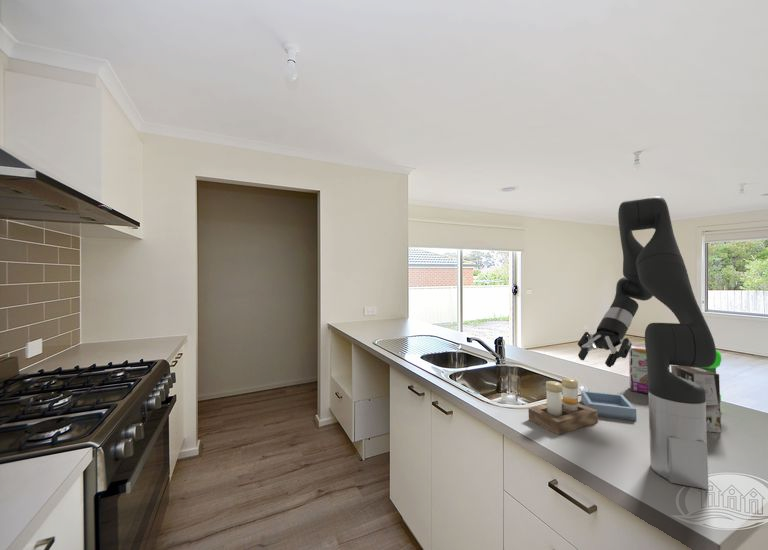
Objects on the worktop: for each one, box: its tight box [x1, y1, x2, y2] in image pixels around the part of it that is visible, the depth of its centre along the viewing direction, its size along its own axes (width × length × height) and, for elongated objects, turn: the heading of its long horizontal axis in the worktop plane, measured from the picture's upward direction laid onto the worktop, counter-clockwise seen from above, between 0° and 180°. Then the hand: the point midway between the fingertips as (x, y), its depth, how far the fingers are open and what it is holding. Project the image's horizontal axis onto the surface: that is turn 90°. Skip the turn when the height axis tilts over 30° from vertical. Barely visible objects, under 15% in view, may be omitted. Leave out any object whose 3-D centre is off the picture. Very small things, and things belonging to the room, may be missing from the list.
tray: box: [580, 390, 637, 422], centre depth 100 cm, size 12×12×4 cm
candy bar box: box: [628, 345, 671, 394], centre depth 114 cm, size 11×5×16 cm, turn 58°
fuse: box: [545, 380, 563, 417], centre depth 92 cm, size 4×4×12 cm
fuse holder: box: [528, 399, 599, 436], centre depth 93 cm, size 17×10×4 cm, turn 113°
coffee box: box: [670, 365, 722, 434], centre depth 90 cm, size 9×6×16 cm
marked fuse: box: [561, 377, 579, 413], centre depth 95 cm, size 4×4×12 cm
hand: (593, 362), depth 99 cm, fingers open, 8 cm apart
